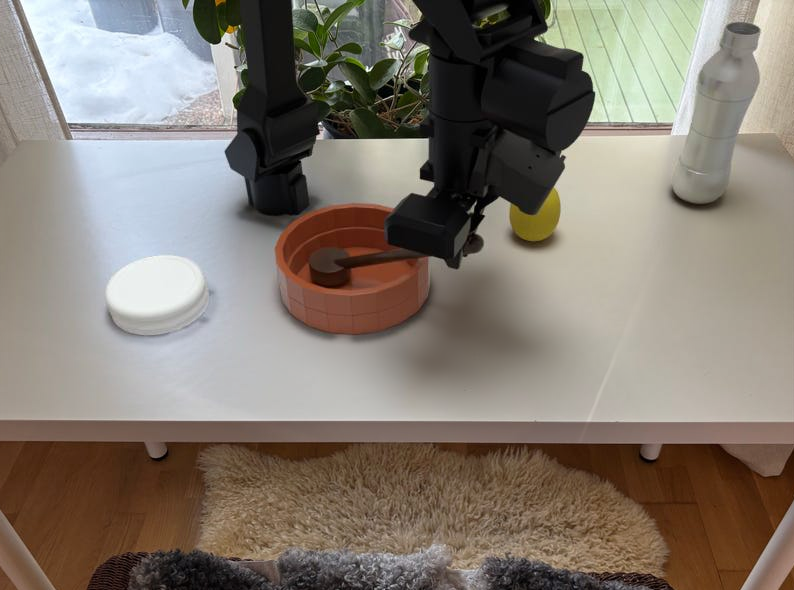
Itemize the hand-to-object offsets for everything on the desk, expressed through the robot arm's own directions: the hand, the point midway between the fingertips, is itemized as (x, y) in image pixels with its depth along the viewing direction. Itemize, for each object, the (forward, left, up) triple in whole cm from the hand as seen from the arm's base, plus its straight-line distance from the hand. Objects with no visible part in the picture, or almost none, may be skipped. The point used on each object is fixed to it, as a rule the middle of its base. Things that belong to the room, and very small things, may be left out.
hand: (457, 261), depth 73 cm
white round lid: (-29, -11, -8) cm, 31 cm away
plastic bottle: (+18, +33, -8) cm, 38 cm away
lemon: (+3, +16, -8) cm, 18 cm away
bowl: (-11, 0, -7) cm, 14 cm away
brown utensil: (-7, 0, -6) cm, 9 cm away
